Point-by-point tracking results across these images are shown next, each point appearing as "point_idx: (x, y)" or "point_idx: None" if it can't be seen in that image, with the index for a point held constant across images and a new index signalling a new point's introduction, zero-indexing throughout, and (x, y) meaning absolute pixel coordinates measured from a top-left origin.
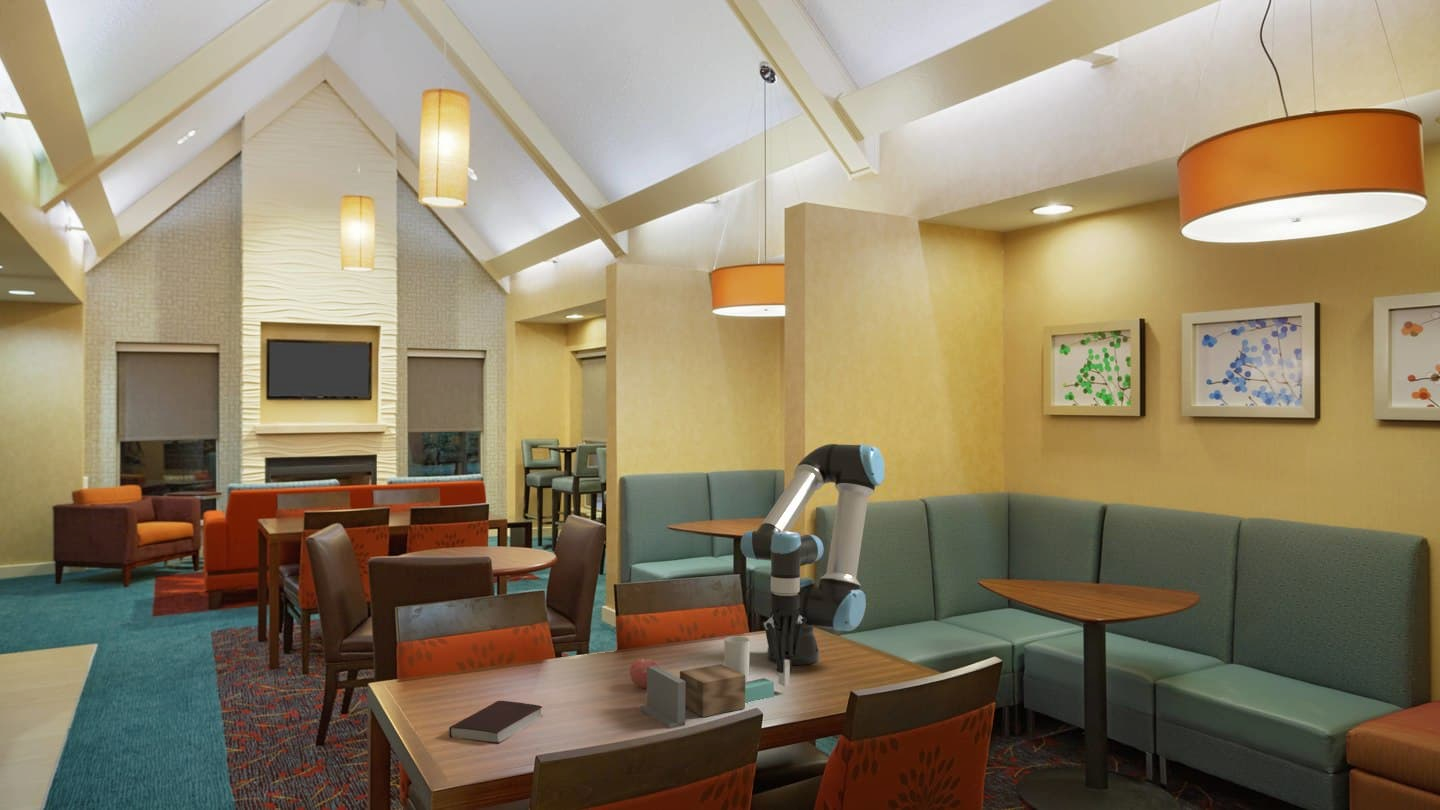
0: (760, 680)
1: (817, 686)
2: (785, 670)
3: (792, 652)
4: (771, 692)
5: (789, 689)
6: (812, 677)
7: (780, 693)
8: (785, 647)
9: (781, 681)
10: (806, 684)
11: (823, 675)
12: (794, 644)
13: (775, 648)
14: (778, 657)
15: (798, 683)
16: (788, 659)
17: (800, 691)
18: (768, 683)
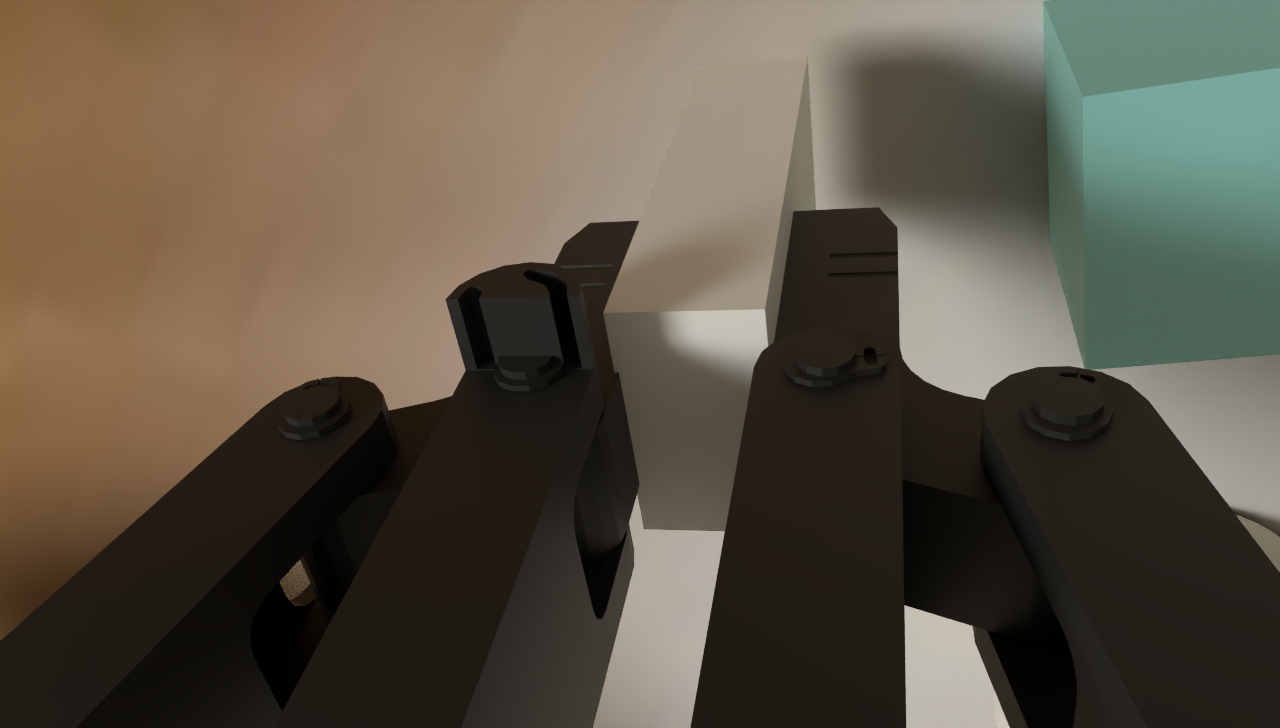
0: (1256, 283)
1: (179, 117)
2: (769, 187)
3: (443, 448)
4: (1117, 16)
5: (613, 184)
6: (146, 417)
7: (842, 89)
8: (571, 691)
9: (807, 181)
10: (299, 251)
11: (4, 414)
12: (240, 676)
13: (1249, 649)
14: (1021, 392)
15: (386, 327)
16: (605, 368)
17: (501, 33)
18: (1251, 69)
